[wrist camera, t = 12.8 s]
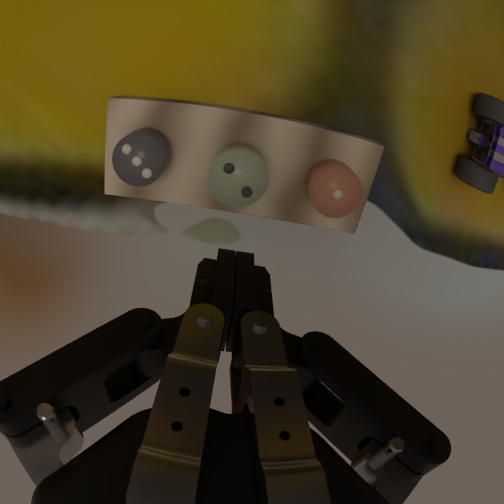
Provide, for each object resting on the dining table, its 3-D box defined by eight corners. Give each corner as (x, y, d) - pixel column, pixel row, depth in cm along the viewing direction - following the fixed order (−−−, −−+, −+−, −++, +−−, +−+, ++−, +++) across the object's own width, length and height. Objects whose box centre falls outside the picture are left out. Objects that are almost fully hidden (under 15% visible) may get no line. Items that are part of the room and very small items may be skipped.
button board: (376, 140, 27) (384, 146, 25) (348, 223, 31) (354, 233, 30) (117, 95, 24) (108, 98, 22) (112, 186, 29) (104, 193, 27)
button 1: (360, 165, 26) (370, 175, 24) (345, 210, 28) (353, 223, 26) (313, 154, 25) (319, 163, 23) (300, 201, 28) (304, 213, 25)
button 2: (271, 148, 24) (274, 157, 22) (260, 199, 26) (261, 212, 24) (215, 139, 23) (212, 147, 21) (207, 190, 26) (203, 203, 24)
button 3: (173, 130, 24) (166, 136, 22) (168, 179, 26) (161, 190, 24) (123, 125, 24) (112, 132, 21) (121, 173, 26) (110, 184, 24)
